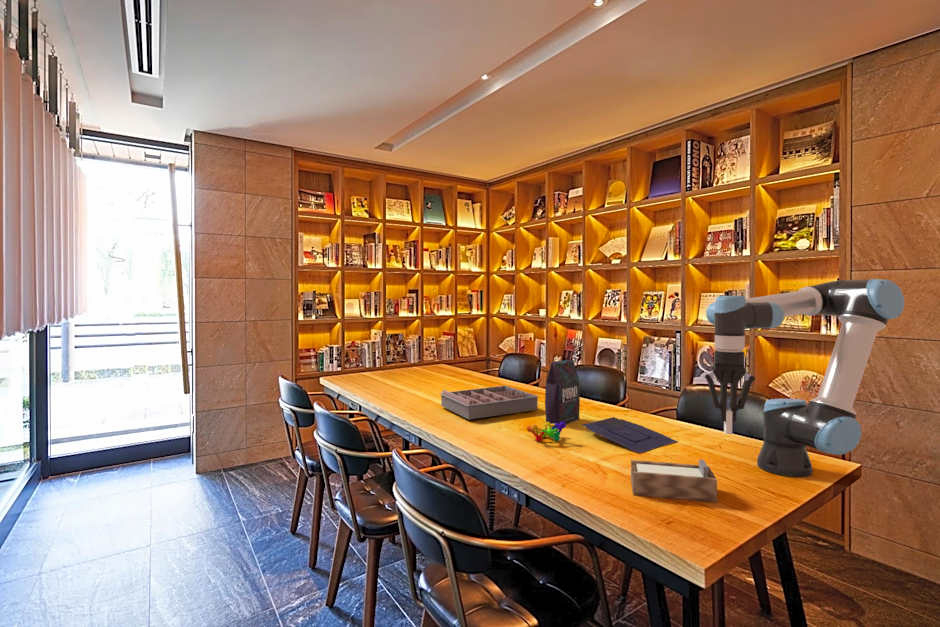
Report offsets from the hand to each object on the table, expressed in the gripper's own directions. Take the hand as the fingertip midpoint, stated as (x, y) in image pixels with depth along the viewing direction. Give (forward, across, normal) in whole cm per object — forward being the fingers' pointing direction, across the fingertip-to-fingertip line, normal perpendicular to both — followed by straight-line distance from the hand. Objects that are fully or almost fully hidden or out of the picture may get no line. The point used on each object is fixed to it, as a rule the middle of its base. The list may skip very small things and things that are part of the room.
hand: (727, 432), depth 136 cm
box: (+19, +15, 0) cm, 24 cm away
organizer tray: (+19, +90, -84) cm, 124 cm away
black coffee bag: (+19, +52, -70) cm, 89 cm away
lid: (+13, +15, 0) cm, 20 cm away
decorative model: (+19, +56, -41) cm, 71 cm away
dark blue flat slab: (+19, +25, -51) cm, 60 cm away
